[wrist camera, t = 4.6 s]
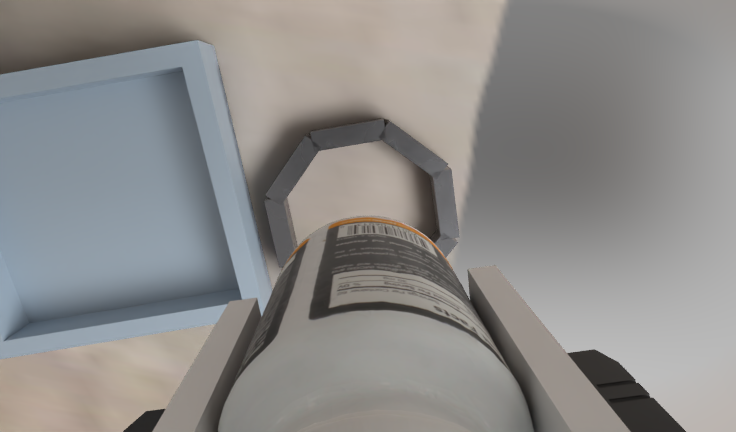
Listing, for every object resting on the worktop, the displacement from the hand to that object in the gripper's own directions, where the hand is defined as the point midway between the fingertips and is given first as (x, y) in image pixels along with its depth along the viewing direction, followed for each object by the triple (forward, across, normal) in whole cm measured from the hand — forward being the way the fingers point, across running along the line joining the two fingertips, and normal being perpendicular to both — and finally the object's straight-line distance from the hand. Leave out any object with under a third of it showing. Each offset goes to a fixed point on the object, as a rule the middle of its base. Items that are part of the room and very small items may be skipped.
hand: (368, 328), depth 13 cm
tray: (+14, -14, +2) cm, 19 cm away
